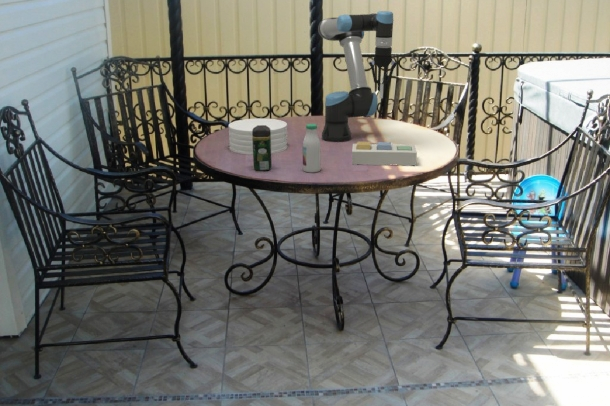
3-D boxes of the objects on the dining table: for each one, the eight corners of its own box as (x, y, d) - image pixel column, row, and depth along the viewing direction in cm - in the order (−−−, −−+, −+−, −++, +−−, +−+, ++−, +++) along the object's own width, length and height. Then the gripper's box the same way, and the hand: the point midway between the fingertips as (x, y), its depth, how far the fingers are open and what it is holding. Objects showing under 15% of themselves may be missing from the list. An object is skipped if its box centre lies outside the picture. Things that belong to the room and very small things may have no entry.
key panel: (351, 164, 292) (352, 151, 290) (352, 156, 305) (352, 143, 303) (416, 165, 289) (416, 152, 287) (414, 157, 303) (414, 144, 301)
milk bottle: (322, 168, 286) (323, 123, 280) (317, 173, 279) (317, 127, 273) (306, 167, 289) (305, 122, 282) (300, 172, 282) (299, 125, 275)
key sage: (397, 158, 293) (397, 149, 292) (396, 154, 299) (397, 146, 297) (411, 158, 293) (411, 149, 291) (410, 154, 298) (410, 146, 297)
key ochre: (356, 153, 294) (357, 144, 293) (357, 150, 300) (357, 141, 298) (370, 153, 294) (370, 145, 292) (370, 150, 299) (370, 141, 298)
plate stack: (254, 138, 341) (253, 116, 337) (298, 145, 325) (298, 122, 321) (217, 149, 319) (216, 126, 315) (262, 158, 304) (262, 133, 300)
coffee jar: (253, 165, 292) (252, 124, 285) (271, 165, 292) (270, 123, 286) (252, 171, 282) (251, 129, 276) (271, 171, 283) (270, 128, 277)
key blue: (377, 154, 293) (377, 145, 292) (377, 150, 299) (377, 141, 298) (390, 154, 293) (391, 145, 291) (390, 150, 298) (390, 142, 297)
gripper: (369, 47, 299) (367, 99, 308) (398, 47, 298) (395, 99, 307) (369, 45, 306) (367, 95, 315) (397, 45, 305) (394, 96, 314)
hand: (381, 97), depth 311 cm, fingers closed
